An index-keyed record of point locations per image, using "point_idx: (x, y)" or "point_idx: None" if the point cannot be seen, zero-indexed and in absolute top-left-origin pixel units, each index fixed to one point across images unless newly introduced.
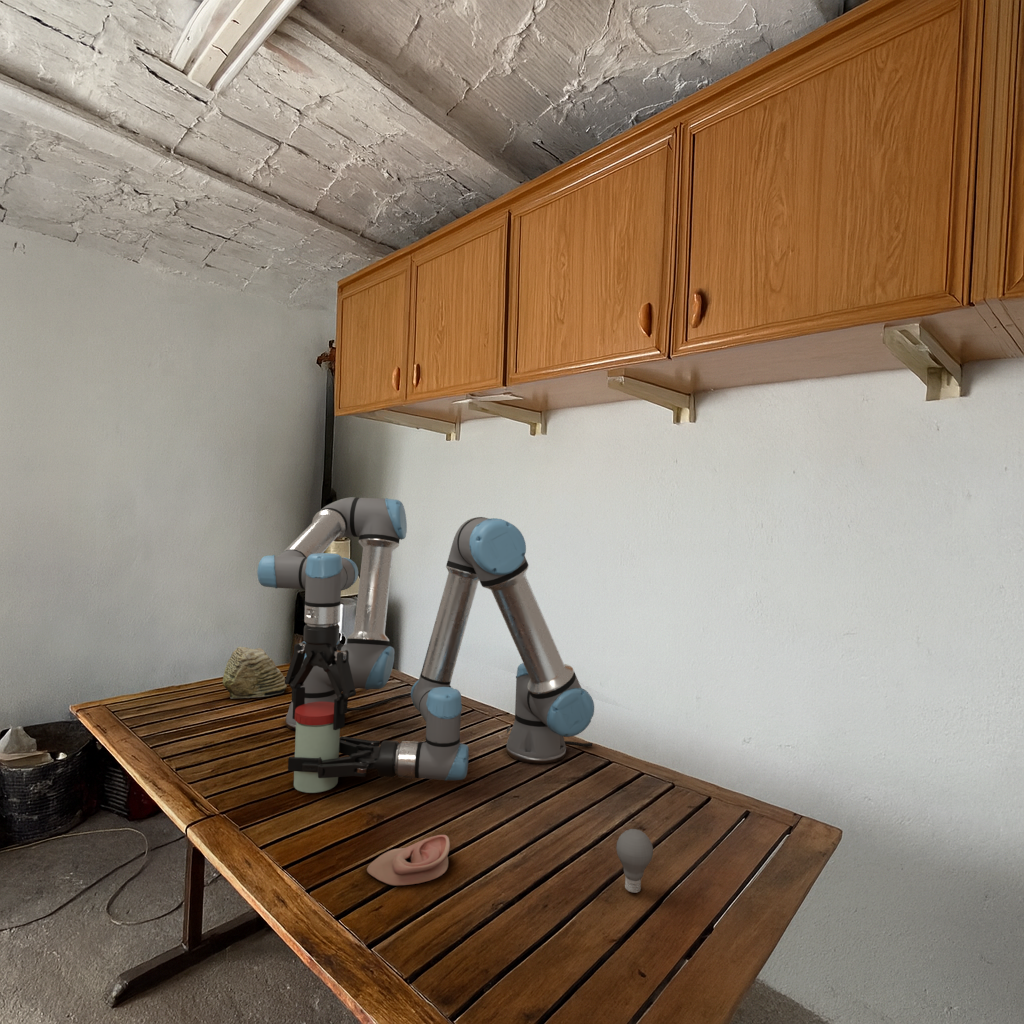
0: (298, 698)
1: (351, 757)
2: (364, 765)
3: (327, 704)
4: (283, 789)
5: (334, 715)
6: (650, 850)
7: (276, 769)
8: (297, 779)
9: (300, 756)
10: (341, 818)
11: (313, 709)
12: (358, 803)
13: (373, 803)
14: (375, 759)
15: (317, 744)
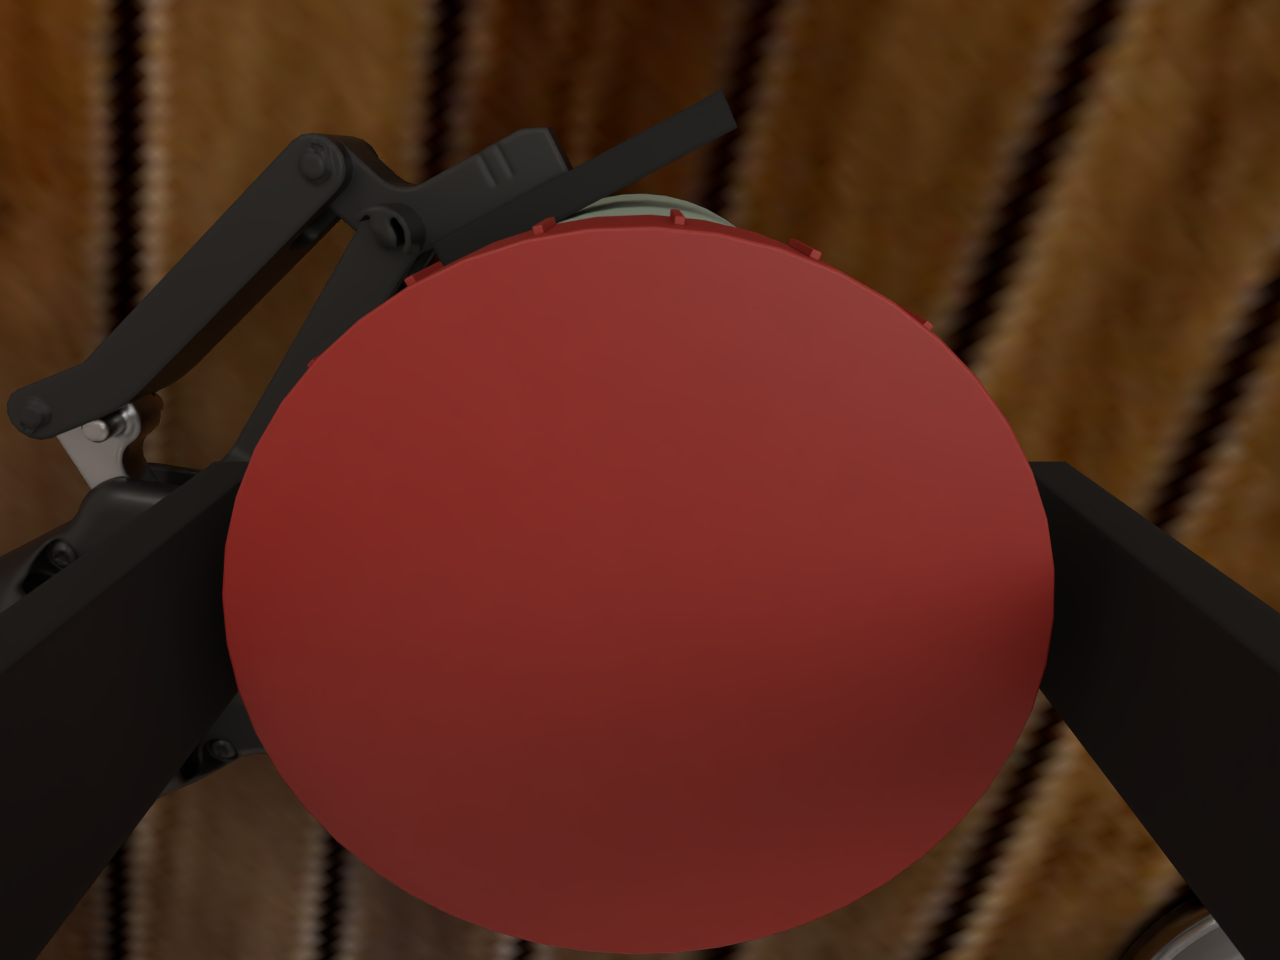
0: (1186, 684)
1: (227, 455)
2: (12, 398)
3: (673, 858)
4: (769, 150)
5: (130, 550)
6: None
7: (1046, 368)
8: (677, 201)
9: (653, 207)
10: (75, 35)
11: (687, 578)
12: None
13: (95, 336)
14: None
15: None
